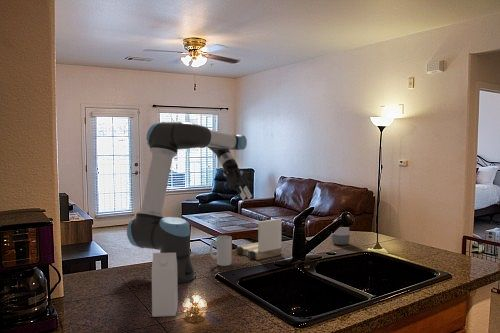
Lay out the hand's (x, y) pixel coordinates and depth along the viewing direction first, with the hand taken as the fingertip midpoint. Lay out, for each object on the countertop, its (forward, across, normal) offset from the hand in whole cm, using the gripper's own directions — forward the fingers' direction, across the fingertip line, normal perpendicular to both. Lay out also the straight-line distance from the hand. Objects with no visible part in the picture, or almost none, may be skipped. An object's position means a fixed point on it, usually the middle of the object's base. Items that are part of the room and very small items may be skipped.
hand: (247, 197), depth 204 cm
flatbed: (+25, 0, -12) cm, 28 cm away
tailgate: (+29, 0, -3) cm, 29 cm away
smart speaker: (+33, -46, -4) cm, 57 cm away
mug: (+28, +24, -9) cm, 38 cm away
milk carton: (+51, +66, +14) cm, 84 cm away
